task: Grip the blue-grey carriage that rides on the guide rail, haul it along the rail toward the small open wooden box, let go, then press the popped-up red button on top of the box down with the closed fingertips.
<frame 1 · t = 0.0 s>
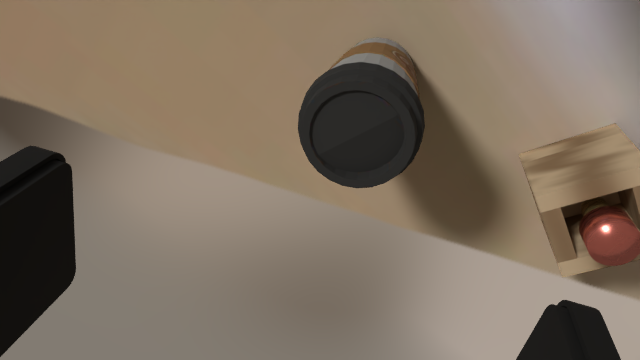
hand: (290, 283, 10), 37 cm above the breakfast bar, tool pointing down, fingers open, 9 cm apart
coffee cup: (378, 72, 45), on the breakfast bar
small open wooden box: (577, 177, 46), on the breakfast bar
reset button: (603, 225, 39), point 8 cm above the breakfast bar, slide at 0.0 cm
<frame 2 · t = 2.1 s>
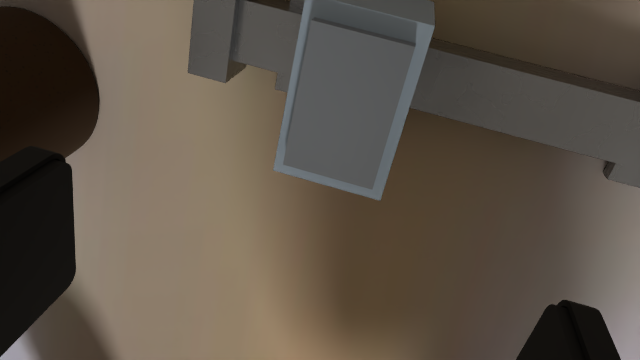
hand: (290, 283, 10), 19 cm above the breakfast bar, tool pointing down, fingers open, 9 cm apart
olive oil: (33, 82, 31), on the breakfast bar
carriage: (357, 81, 22), point 5 cm above the breakfast bar, slide at 0.0 cm
guide rail: (483, 82, 26), on the breakfast bar
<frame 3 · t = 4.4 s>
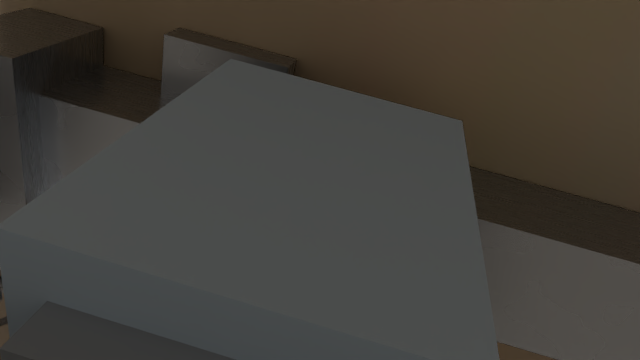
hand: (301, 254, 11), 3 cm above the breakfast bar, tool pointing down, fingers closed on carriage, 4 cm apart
carriage: (274, 326, 9), point 5 cm above the breakfast bar, slide at 0.0 cm, touching gripper
guide rail: (551, 244, 13), on the breakfast bar
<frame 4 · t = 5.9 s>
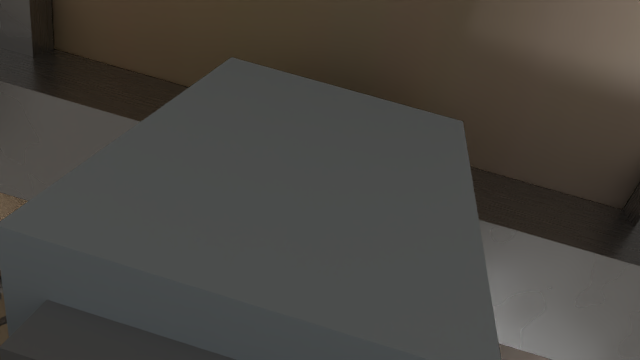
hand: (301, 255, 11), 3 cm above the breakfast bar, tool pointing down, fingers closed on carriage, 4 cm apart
carriage: (273, 326, 9), point 6 cm above the breakfast bar, slide at 6.4 cm, touching gripper
guide rail: (315, 177, 14), on the breakfast bar
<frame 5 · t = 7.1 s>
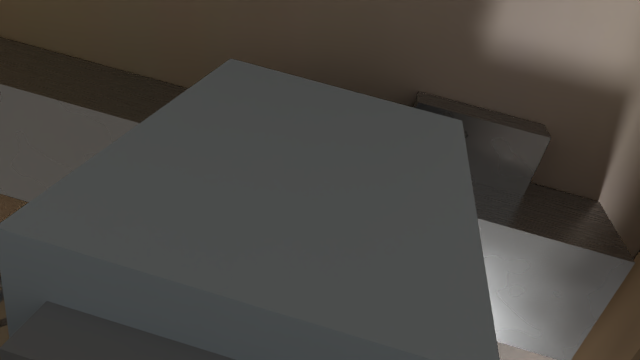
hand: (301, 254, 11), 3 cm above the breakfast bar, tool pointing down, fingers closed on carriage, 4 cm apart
carriage: (274, 326, 9), point 5 cm above the breakfast bar, slide at 12.0 cm, touching gripper
guide rail: (120, 122, 14), on the breakfast bar
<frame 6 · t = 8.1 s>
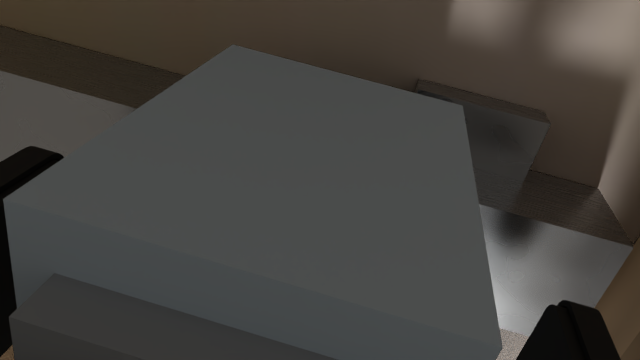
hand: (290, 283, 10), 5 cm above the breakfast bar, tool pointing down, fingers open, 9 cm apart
carriage: (276, 309, 9), point 5 cm above the breakfast bar, slide at 12.0 cm
guide rail: (122, 111, 14), on the breakfast bar
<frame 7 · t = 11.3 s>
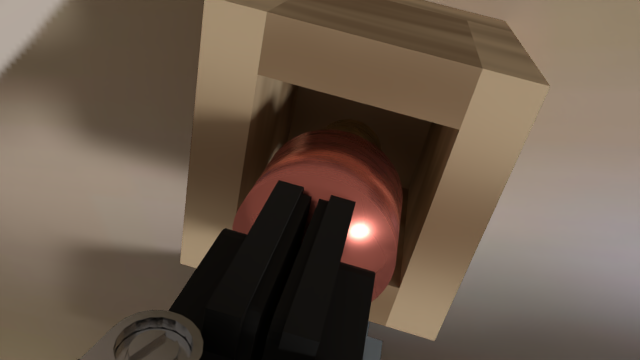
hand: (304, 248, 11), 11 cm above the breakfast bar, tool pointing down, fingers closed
small open wooden box: (368, 96, 20), on the breakfast bar
reset button: (333, 191, 13), point 8 cm above the breakfast bar, slide at 0.0 cm, touching gripper
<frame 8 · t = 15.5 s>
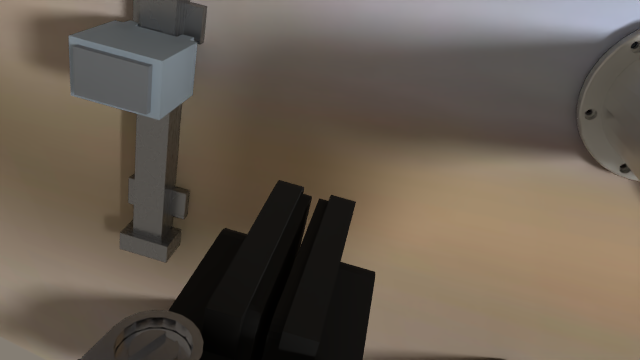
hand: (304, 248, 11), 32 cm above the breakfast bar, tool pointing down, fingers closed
carriage: (137, 67, 39), point 5 cm above the breakfast bar, slide at 12.0 cm
guide rail: (165, 113, 47), on the breakfast bar
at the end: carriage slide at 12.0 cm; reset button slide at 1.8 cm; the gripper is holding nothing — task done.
